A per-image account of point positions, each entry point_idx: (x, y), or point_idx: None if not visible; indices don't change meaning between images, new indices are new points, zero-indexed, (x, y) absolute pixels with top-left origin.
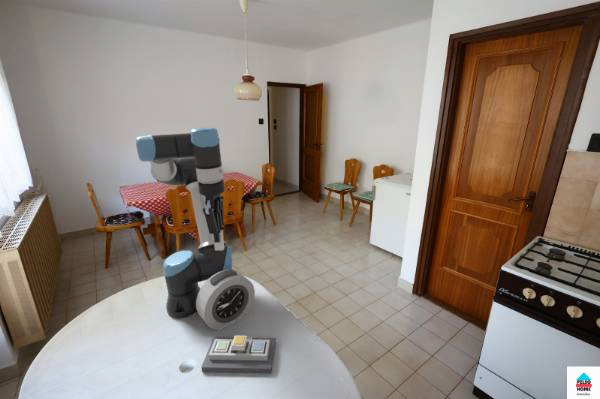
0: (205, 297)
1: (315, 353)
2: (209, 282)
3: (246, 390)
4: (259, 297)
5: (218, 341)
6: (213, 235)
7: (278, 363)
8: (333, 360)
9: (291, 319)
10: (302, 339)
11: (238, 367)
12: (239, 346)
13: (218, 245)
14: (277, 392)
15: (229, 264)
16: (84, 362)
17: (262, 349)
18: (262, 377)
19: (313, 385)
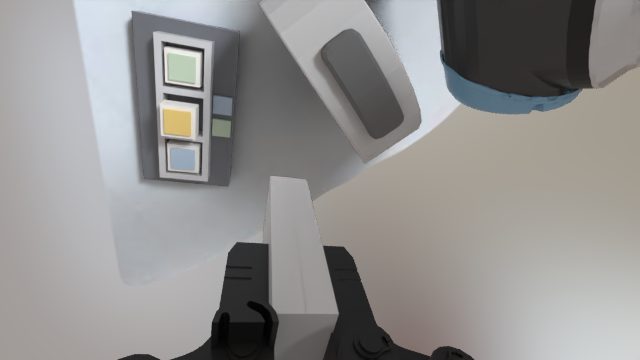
0: (291, 10)
1: (200, 246)
2: (349, 25)
3: (101, 126)
4: None
5: (198, 55)
6: (269, 282)
7: (174, 185)
8: (184, 270)
9: None
10: (235, 227)
11: (140, 110)
12: (161, 123)
13: (266, 230)
14: (106, 183)
15: (460, 96)
16: None
17: (175, 168)
18: (137, 156)
19: (129, 239)
